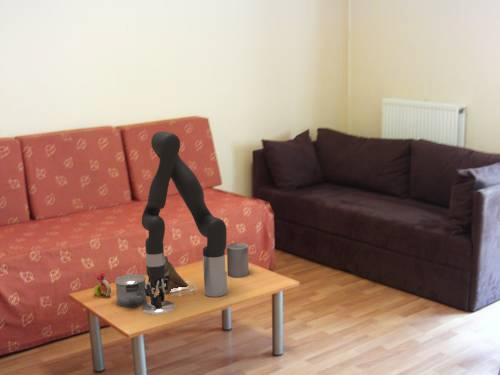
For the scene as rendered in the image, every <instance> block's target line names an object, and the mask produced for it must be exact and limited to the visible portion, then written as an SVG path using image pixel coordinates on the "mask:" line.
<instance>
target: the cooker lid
mask: <svg viewBox="0 0 500 375" xmlns="http://www.w3.org/2000/svg"><path fill="white" fill-rule="evenodd" d="M156 301H157V305H156V306H152V305H151V301H148V302H146V303H145V304H143V305H141V310H142V313H144V314H148V315H155V316H156V315H158V316H159V315H163V314H168V313H170V312H172V311H173V310H174V309H175V303H173V302H172V301H169V300H164V302H162V299H161V295H159V294H156Z"/></svg>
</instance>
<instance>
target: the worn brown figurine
mask: <svg viewBox="0 0 500 375" xmlns="http://www.w3.org/2000/svg"><path fill="white" fill-rule="evenodd" d="M164 256H165V271H166V273H165V274H164V275H169V276H170V277H169V285H168V290H166V291H165V293H164V295H170V294H171V293H170V291H171V289H173V288H178V287H187V286H188V285H189V284H188V283H187V282H186V281H185V280H184V278H182V277H181V275H179V273H178V272H177V270H176V268H175V267H174V266H173V264H172V263H171V262H170V261H169V259H168V257H167V256H166V255H164ZM169 293H170V294H169Z"/></svg>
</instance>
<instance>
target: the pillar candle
mask: <svg viewBox="0 0 500 375" xmlns="http://www.w3.org/2000/svg"><path fill="white" fill-rule="evenodd" d="M226 259H227V261H226V264H227V277H228V276H229V277H230V278H234V279H235V278H237V279H240V278H245V277H247V276H249V272H250V271H249V270H250V268H249V245H248V244H247V243H245V242H232V243H229V244H226Z"/></svg>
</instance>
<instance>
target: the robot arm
mask: <svg viewBox="0 0 500 375" xmlns="http://www.w3.org/2000/svg"><path fill="white" fill-rule="evenodd" d="M150 143H151V147H152V151H154V154H155V155H156V156H157V157H158V159H159V163H158V168H157V170H156V173H155V175H154V176H153V178H152V180H151V184H150V185H149V192H148V195H147V196H148V197H147V203H146V205H145V207H144V210H143V213H142V216H141V226H142V228H143V229H144V230H146V231H148V235H147V236H148V237H147V238H146V239H145V244H144V245H145V267H146V270H145V271H146V275H147V278H148V279H147V282H145V283H146V284H143V287H144V290H145V293H146V298H150V302H151V305H152V306H156V305H157V301H156V295H157V292H158V295H161V299H162V302H164V300H165V298H166V297H165V295H166V294H164V293H165V291H166V290H168V285H169V277H170V276H169V275H164V274H165V273H166V271H165V256H166V255H165V253H164V252H165V250H164V248H165V247H164V237H165V231H166V224H165V221H164V218H163V217H162V216H160V213H161V210H162V209H164V208H165V206H166V201H167V197H168V196H167V195H168V190H169V185H170V181H172V182H173V184H174V186H175V188H176V190H177V192H178V194H179V195H180V197H181V199H182V200H183V201H184V204H185V205H186V208H188V210H189V212H190V214H191V215H192V218H193V220H194V223H195V225H196V228H197V230H198V233H200V234H201V235H202V236H203V237H204V238H206V246H204V247H203V248H202V260H203V261H202V266H203V289H204V296H207V297H211V298H212V297H213V298H216V297H217V298H218V297H221V296H225V295H228V278H227V277H228V272H226V271H227V270H226V250H227V234H228V233H227V225H226V223H225V221H224V219H223V220H222V219H221V218H219V217H215V216H214V215H213V214H212V213H211V211H210V210H209V209H208V207H207V205H206V202H205V197H204V196H205V195H204V190H203V187H202V185H201V183H200V180H199V179H198V177H197V176H196V174H195V172H194V171H193V170H191V167H189V166H188V165H187V164H186V162H185V161H184V160H182V158H181V157H180V154H179V153H180V148H181V140H180V138H179V136H178V135H176V134H175V133H172V132H168V131H158V132H156V133H154V134H153V135H152V137H151V142H150ZM165 301H166V300H165Z"/></svg>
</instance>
